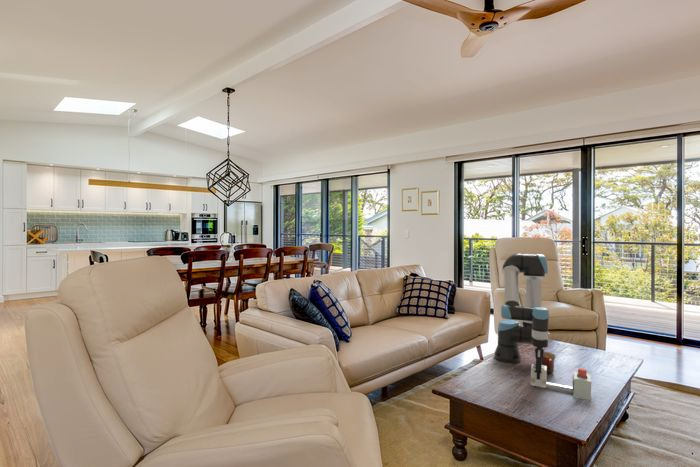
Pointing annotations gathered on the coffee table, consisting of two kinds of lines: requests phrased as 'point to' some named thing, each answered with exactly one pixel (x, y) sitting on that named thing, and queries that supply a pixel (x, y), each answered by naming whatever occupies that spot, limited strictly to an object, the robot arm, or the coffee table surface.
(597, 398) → the coffee table surface
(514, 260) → the robot arm
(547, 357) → the mug
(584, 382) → the end cabinet
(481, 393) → the coffee table surface
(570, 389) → the rail
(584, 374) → the button
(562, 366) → the coffee table surface
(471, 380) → the coffee table surface
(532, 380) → the cream and grey block
